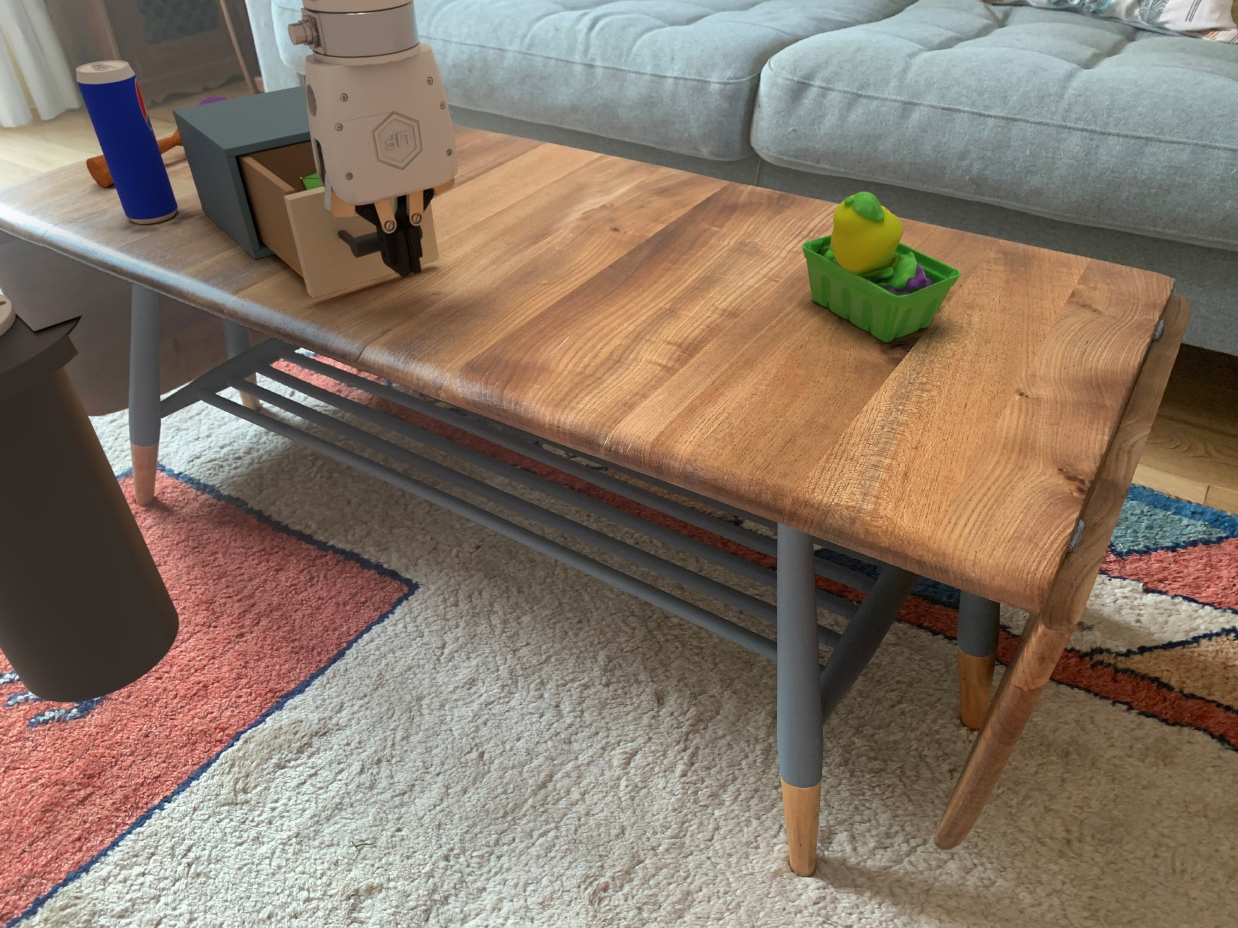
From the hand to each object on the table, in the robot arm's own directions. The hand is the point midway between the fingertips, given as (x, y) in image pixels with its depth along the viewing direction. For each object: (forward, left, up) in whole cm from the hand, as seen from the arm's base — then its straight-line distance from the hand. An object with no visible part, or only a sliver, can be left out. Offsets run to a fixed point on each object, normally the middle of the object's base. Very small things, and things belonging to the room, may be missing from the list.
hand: (404, 269), depth 75 cm
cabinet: (0, +27, -4) cm, 28 cm away
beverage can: (-11, +37, -4) cm, 39 cm away
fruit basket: (+30, -25, -4) cm, 39 cm away
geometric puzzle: (0, +14, -2) cm, 14 cm away
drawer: (0, +11, -3) cm, 12 cm away
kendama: (-4, +53, -4) cm, 53 cm away
